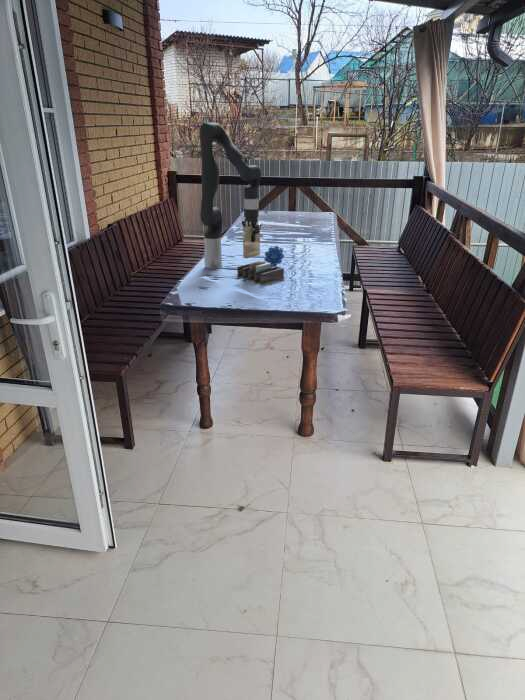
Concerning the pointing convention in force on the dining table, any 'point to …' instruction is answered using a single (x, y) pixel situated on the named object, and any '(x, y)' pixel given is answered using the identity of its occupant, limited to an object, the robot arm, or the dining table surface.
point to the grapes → (274, 256)
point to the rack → (260, 274)
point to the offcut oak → (253, 265)
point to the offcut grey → (263, 266)
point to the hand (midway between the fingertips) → (251, 241)
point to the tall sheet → (250, 243)
